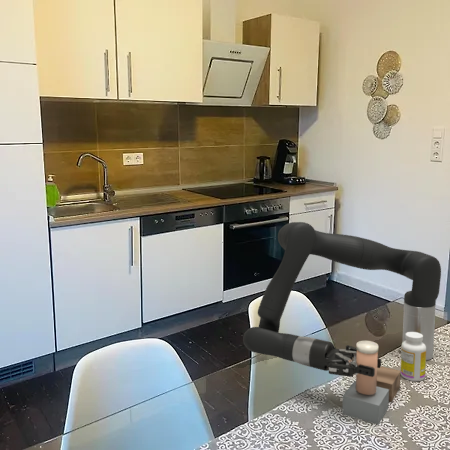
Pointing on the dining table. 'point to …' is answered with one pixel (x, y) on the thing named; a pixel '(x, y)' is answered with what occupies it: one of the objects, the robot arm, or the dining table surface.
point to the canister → (367, 357)
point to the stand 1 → (365, 404)
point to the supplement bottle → (413, 357)
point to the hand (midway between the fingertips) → (377, 367)
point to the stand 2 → (389, 380)
